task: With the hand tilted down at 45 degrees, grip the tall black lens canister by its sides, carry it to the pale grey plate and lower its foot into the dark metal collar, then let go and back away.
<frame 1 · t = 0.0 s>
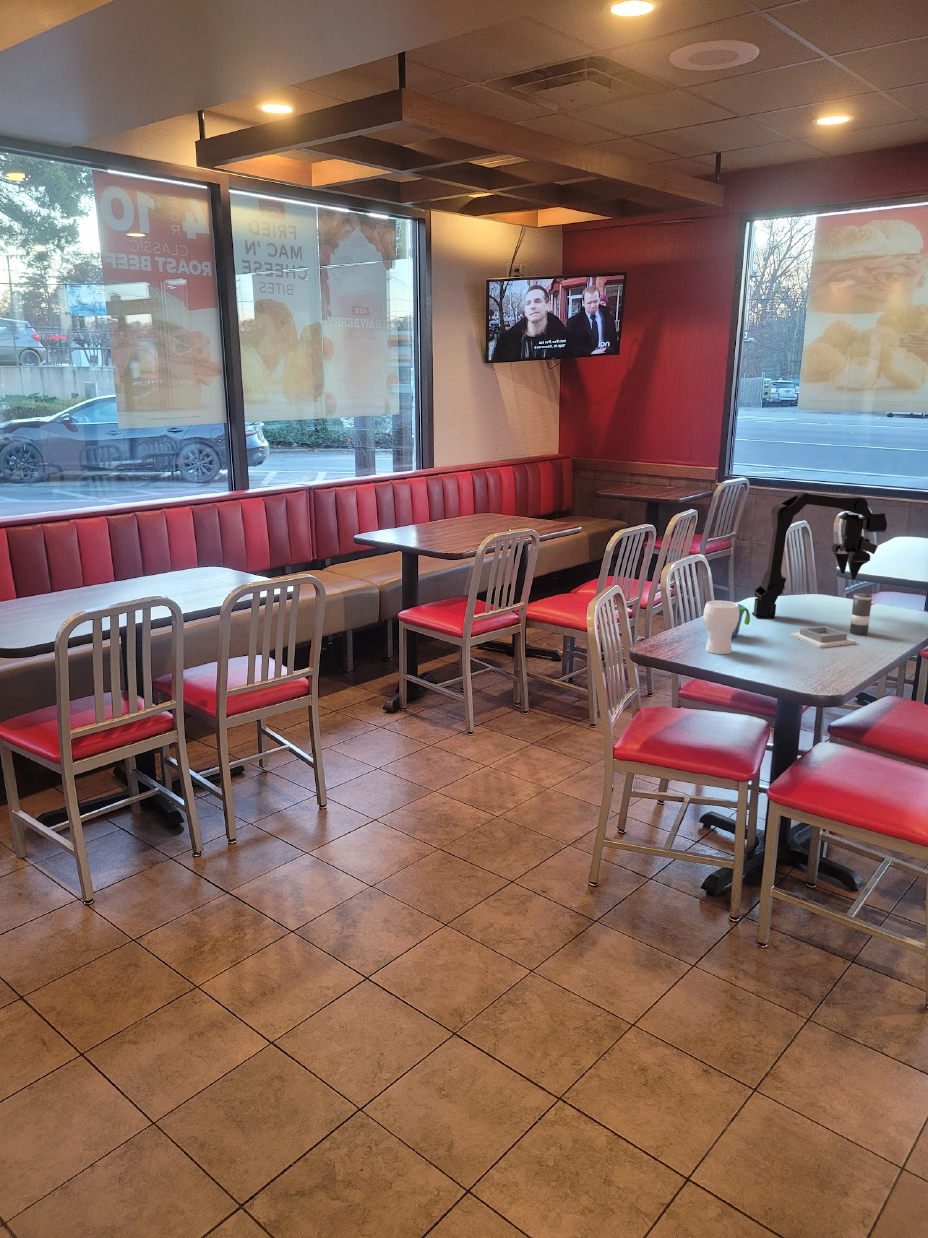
hand: (847, 576, 315), 15 cm above the table, tool pointing down, fingers open, 9 cm apart
cup: (718, 651, 280), on the table
barrel plate: (822, 639, 291), on the table
lens canister: (858, 633, 299), on the table
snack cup: (725, 636, 296), on the table
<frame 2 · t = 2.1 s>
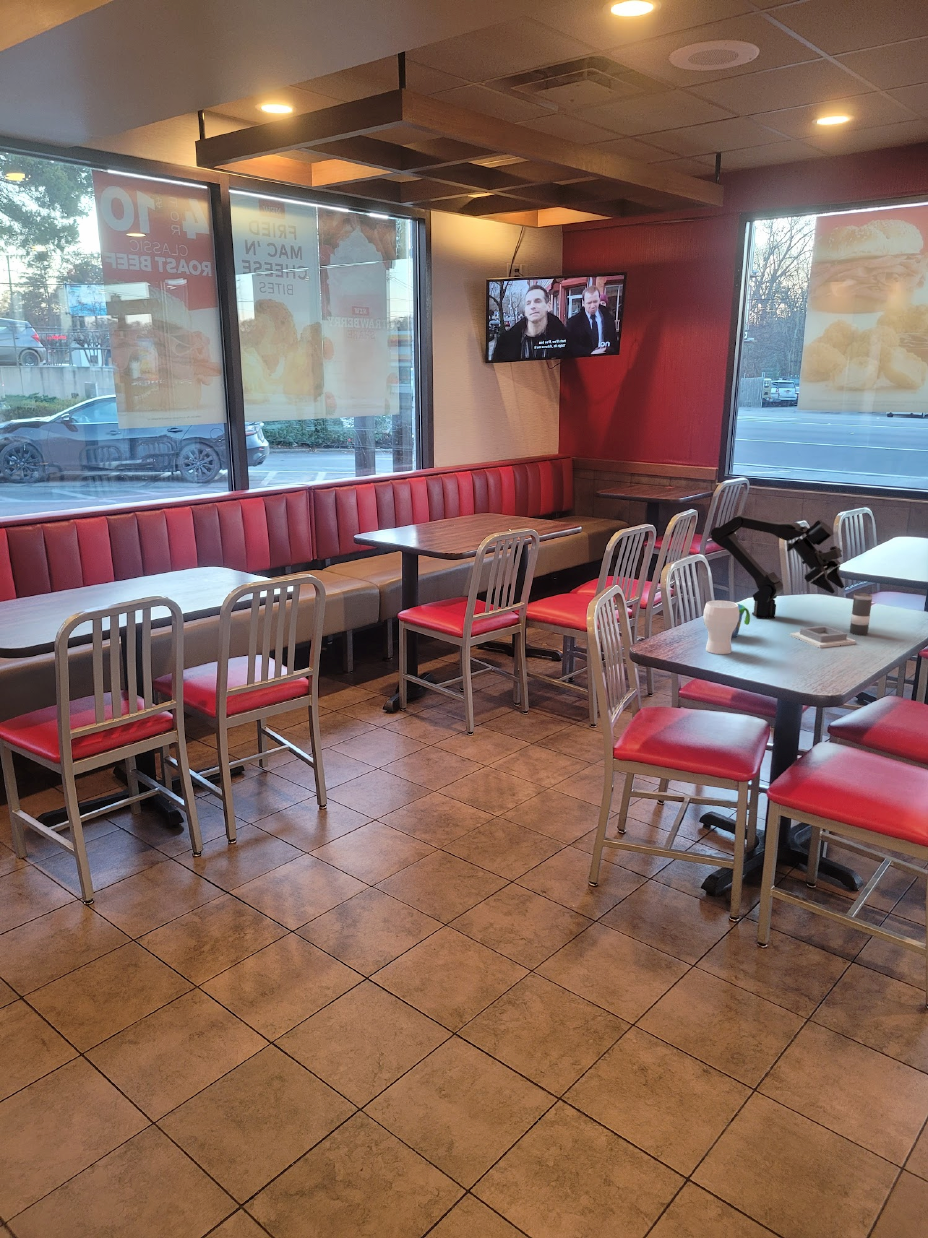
hand: (838, 590, 300), 13 cm above the table, tool tilted 45°, fingers open, 9 cm apart
nothing on the table moved.
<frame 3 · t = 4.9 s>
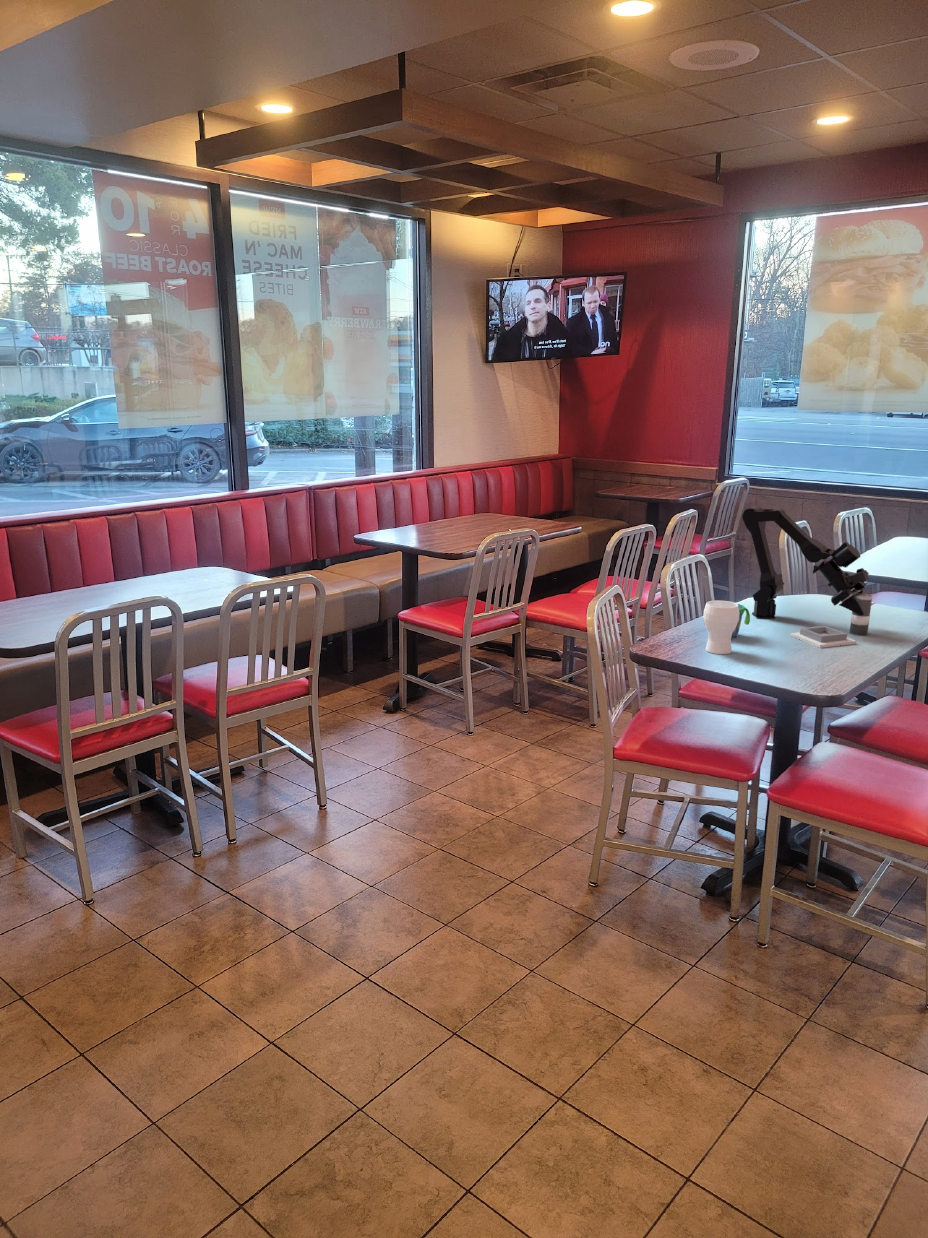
hand: (865, 613, 296), 7 cm above the table, tool tilted 45°, fingers closed on lens canister, 5 cm apart
lens canister: (858, 633, 299), on the table, touching gripper
everything else where it was.
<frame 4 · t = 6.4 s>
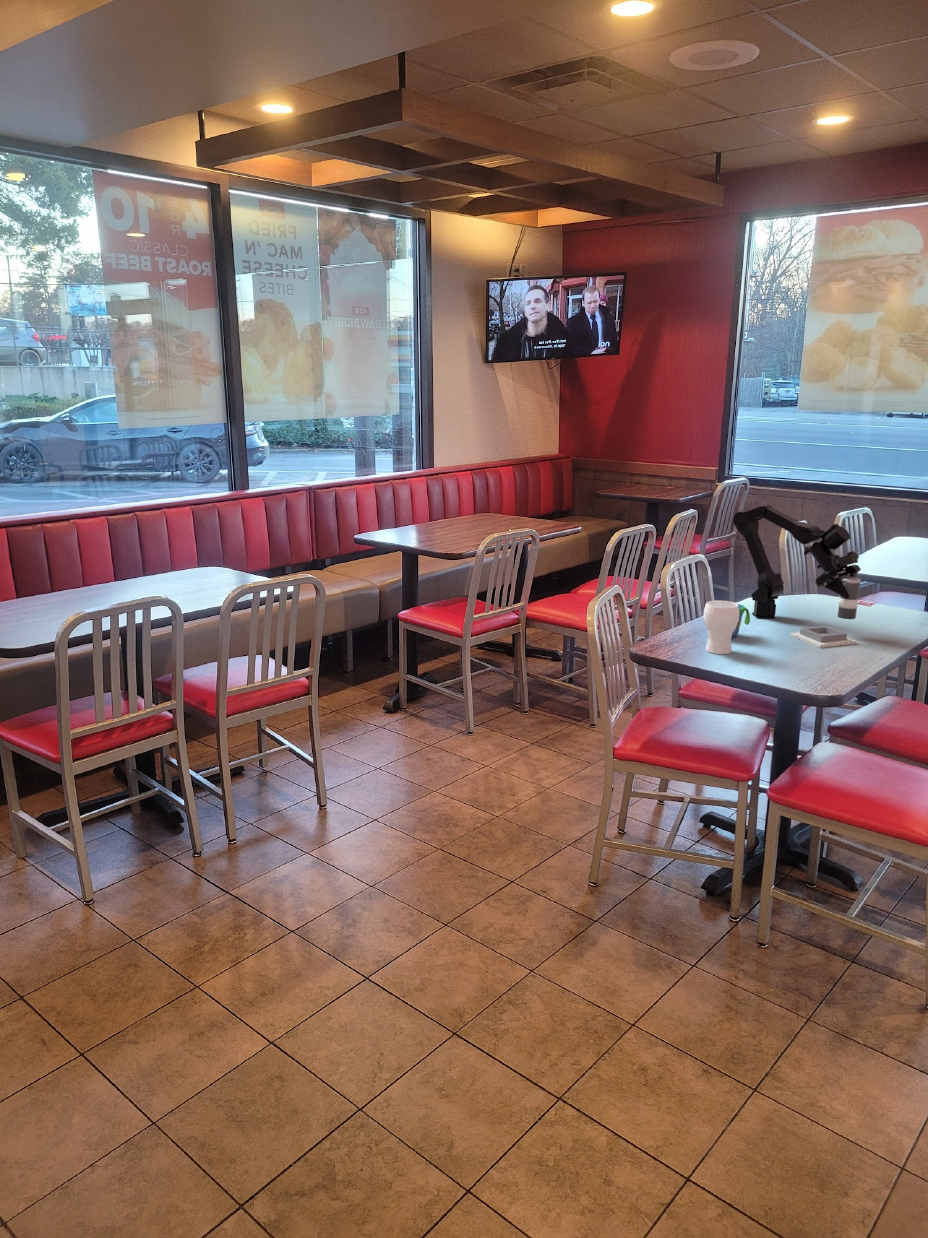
hand: (853, 596, 291), 13 cm above the table, tool tilted 45°, fingers closed on lens canister, 5 cm apart
lens canister: (846, 616, 294), point 6 cm above the table, touching gripper
everything else where it was.
when the fingers open (9 cm above the table, at t = 8.1 s): lens canister drops 1 cm, resting on barrel plate.
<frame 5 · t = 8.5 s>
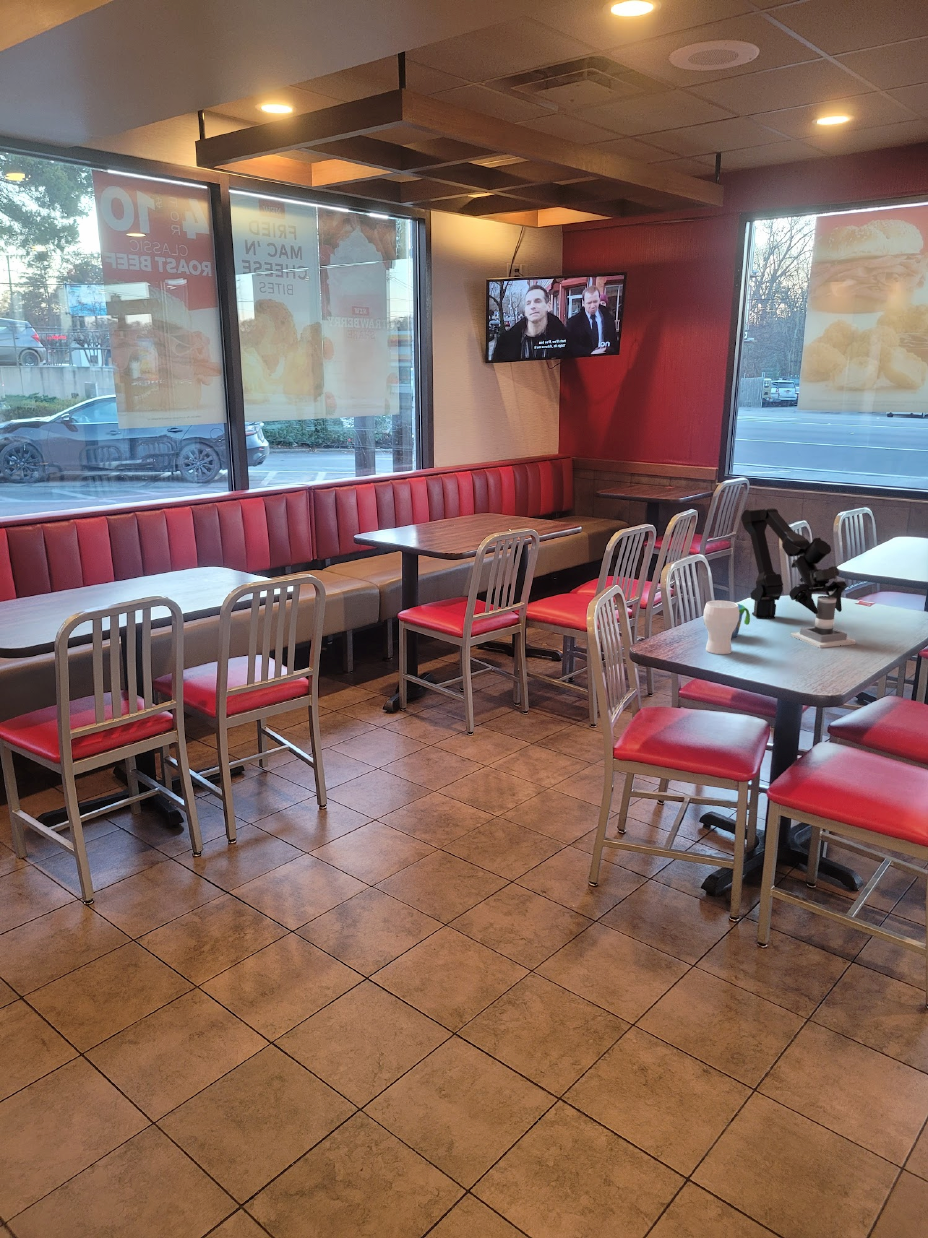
hand: (828, 612, 287), 10 cm above the table, tool tilted 45°, fingers open, 9 cm apart
lens canister: (822, 636, 291), point 1 cm above the table, touching barrel plate
everything else where it was.
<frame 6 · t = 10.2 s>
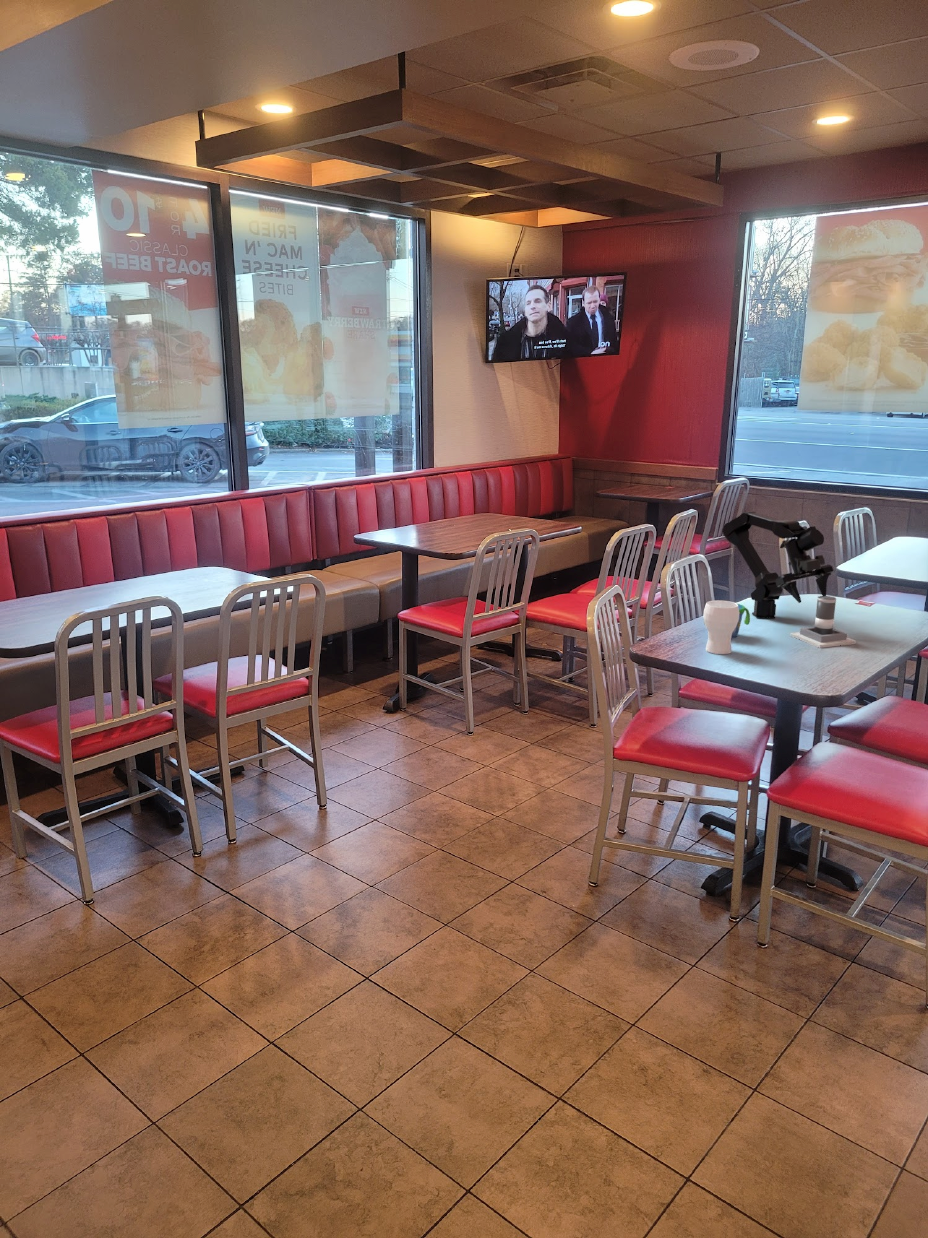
hand: (812, 599, 299), 11 cm above the table, tool tilted 30°, fingers open, 9 cm apart
nothing on the table moved.
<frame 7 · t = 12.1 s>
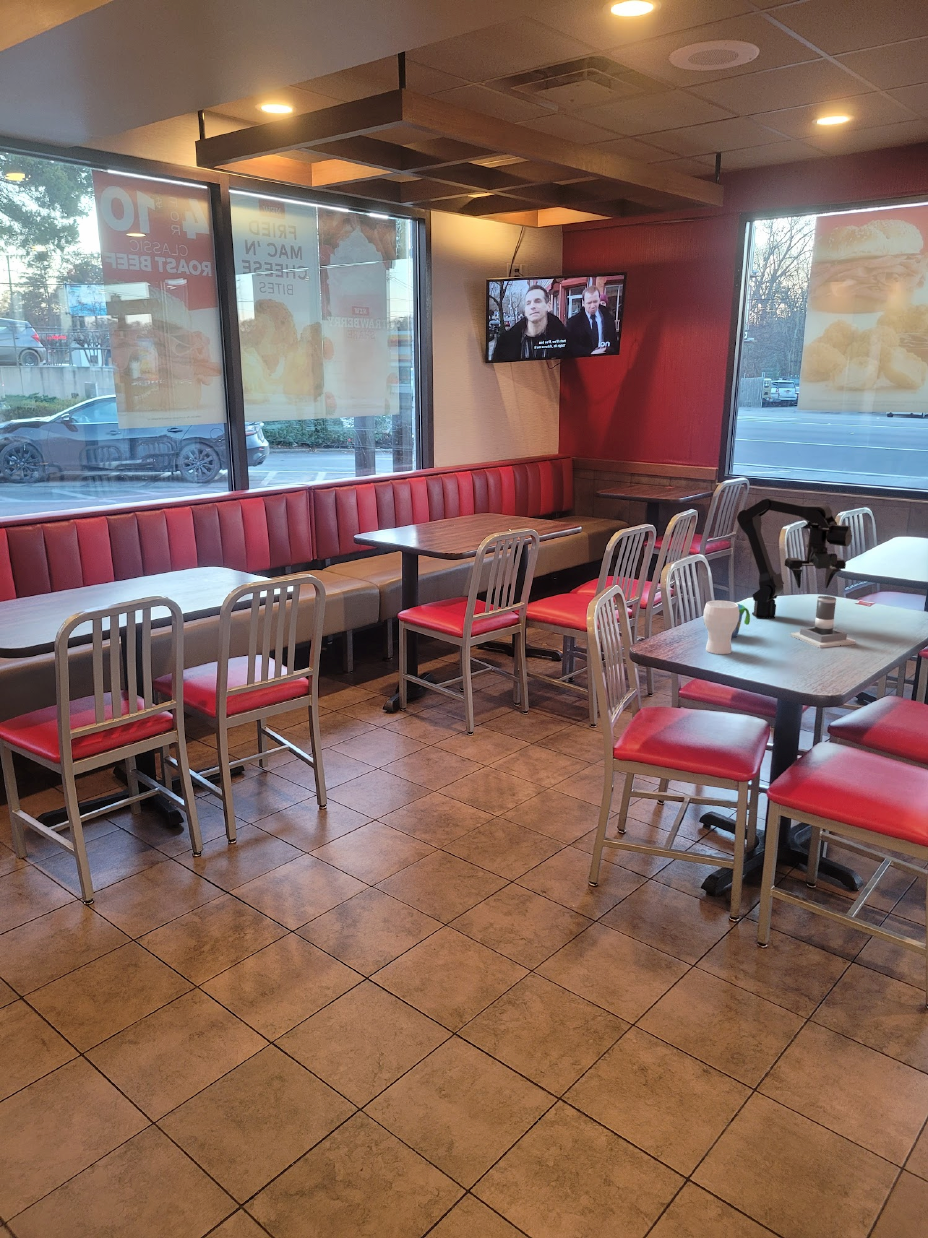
hand: (812, 588, 305), 13 cm above the table, tool pointing down, fingers open, 9 cm apart
nothing on the table moved.
at the end: lens canister 0.0 cm from the barrel plate (horizontally); lens canister point 1.0 cm above the table; lens canister tilted 0° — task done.
